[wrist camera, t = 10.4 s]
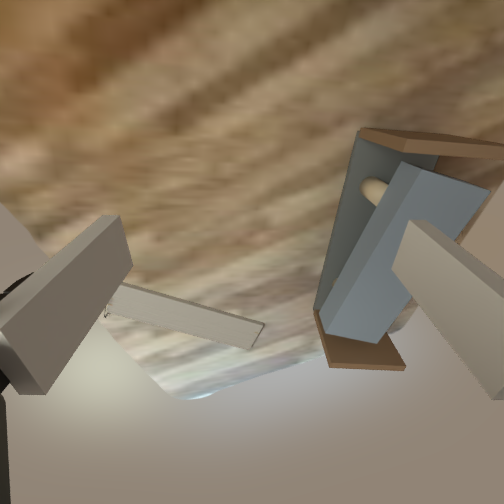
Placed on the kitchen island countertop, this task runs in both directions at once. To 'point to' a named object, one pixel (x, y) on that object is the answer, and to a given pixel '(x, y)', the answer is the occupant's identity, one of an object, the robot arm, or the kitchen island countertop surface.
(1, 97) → the kitchen island countertop surface
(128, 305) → the baseboard
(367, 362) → the peg shelf
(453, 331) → the robot arm
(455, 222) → the shelf board
